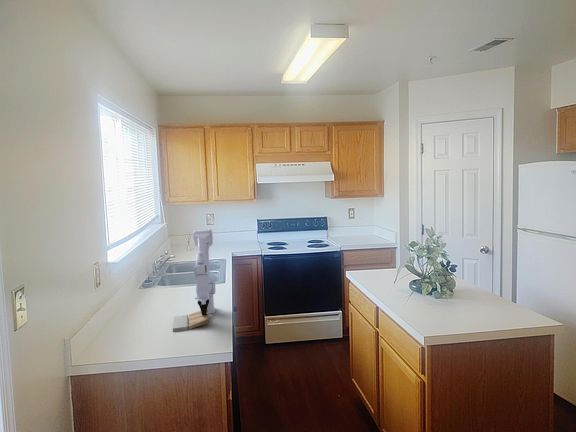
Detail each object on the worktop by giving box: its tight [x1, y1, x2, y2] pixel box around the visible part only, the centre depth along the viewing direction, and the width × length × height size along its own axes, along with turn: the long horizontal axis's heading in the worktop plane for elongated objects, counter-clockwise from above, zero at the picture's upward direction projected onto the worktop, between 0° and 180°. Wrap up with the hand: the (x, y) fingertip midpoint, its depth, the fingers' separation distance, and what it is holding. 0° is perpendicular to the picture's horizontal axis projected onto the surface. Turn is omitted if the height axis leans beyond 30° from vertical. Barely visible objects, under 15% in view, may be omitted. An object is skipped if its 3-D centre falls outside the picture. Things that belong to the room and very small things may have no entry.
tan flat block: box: [188, 310, 210, 330], centre depth 213 cm, size 18×10×2 cm, turn 13°
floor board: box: [172, 314, 189, 332], centre depth 211 cm, size 18×7×2 cm, turn 13°
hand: (204, 314), depth 213 cm, fingers closed, pressing on tan flat block
